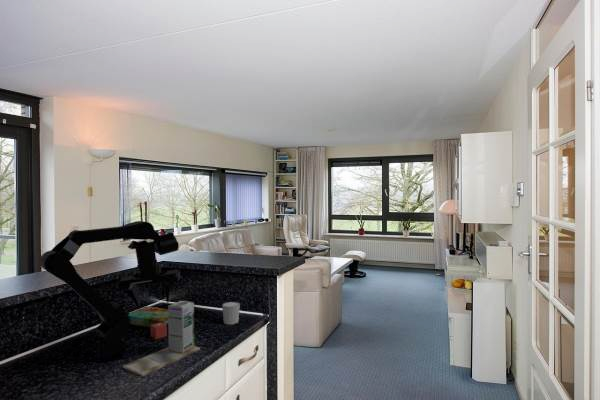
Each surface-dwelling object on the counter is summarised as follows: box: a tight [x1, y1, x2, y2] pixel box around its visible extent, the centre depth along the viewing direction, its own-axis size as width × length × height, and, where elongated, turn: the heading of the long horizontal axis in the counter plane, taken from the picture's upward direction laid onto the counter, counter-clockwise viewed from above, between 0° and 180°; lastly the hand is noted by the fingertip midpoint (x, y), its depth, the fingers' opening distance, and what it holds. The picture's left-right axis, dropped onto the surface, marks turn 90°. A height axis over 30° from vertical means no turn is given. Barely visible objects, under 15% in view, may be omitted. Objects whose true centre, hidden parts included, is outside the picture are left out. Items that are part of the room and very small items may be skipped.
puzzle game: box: [128, 305, 168, 329], centre depth 142 cm, size 12×5×20 cm
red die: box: [150, 322, 168, 340], centre depth 129 cm, size 4×4×4 cm
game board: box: [122, 345, 201, 377], centre depth 112 cm, size 21×9×1 cm, turn 148°
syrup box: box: [167, 300, 195, 353], centre depth 117 cm, size 6×6×14 cm
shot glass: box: [221, 301, 241, 325], centre depth 144 cm, size 7×7×7 cm
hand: (153, 304), depth 122 cm, fingers open, 9 cm apart
